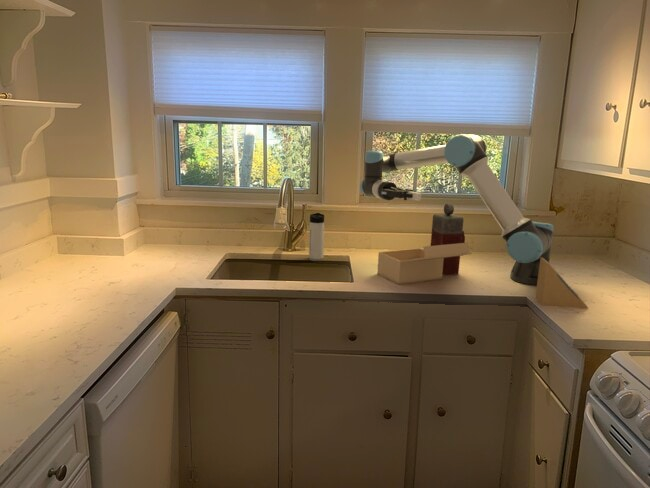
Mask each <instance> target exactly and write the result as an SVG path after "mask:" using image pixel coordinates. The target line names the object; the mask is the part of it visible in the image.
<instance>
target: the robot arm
mask: <svg viewBox="0 0 650 488" xmlns="http://www.w3.org/2000/svg"><path fill="white" fill-rule="evenodd" d="M488 161H489V157H488V155H487V144H486V142H485V140H484V139H483V138H482V137H480V135H477V134H466V133H460V134H456V135H454V136H452V137H450V138H449V140H448V141H447V142H446V144H442V145H435V146H430V147H424V148H419V149H418V148H417V149H412V150H407V151H400V152H396V153H390V154H389V153H388V154H384V152H383V151H382V150H367V151H365V156H364V177H363V179H362V181H361V182H360V184H359V190H360V192H361V194H363V195H365V196H368V197H373V198H377V199H379V200H380V201H383V200H385V201H393V200H394V199H397V198H398V199H402V198H403V201H407V200H412V201H416V202H417V201H419V202H420V201H422V193H421V192H417V191H416V190H414V189H409V188H407V187H406V188H403V187H402V188H401V187H399V186H397V185H396V183H394V182H393V181H389V180H383V173H387V172H388V173H389V172H391V173H392V172H395V171H401V170H408V169H414V168H421V167H422V168H423V167H428V166H436V165H442V164H449V165H450V166H453V167H455V168H456V170H457V171H458V173H459V175H460V176H462V177H467V179H468V180H469V182H470V184H471V185H472V186H473V188H474V189H475V191H476V193H477V194H478V195H479V197H480V199H481V200H482V201H483V203H484V204H485V206H486V207H487V209H488V210H489V212H490V214H491V215H492V216H493V218H494V219H495V221H496V222H497V224H498V226H499V227H500V229H501V231H502V232H501V238H502V239H503V241H504V242H505V244H506V251H507V253H508V255H509V256H510V258H511V259H512V260H513V261H515V263H514V264H513V267H512V268H511V271H510V273H509V274H510V275H509V277H510V279H512V281H515V282H517V283H520V284H521V283H522V284H526V285H533V286H537V281H538V273H539V266H540V258H541V257H542V258H544V259H545V260H546V261H547V262H548V263H549V264H550V260H551V259H550V258H551V251H552V244H553V237H554V234H555V232H554V231H555V230H554V228H555V227H554V225H553V224H552V223H547V222H538V221H537V222H536V221H532V220H531V218H527V217H524V216H523V214H522V213H521V212H520V210H519V209H518V207H517V205H516V204H515V203H514V201H513V199H512V198H511V196H510V195H509V194H508V192H507V191H506V189H505V188H504V186H503V184H502V183H501V182H500V180H499V179H498V177H497V176H496V174H495V173H494V172H493V170H492V168H491V167H490V166H489V164H488Z"/></svg>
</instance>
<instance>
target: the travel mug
mask: <svg viewBox="0 0 650 488" xmlns="http://www.w3.org/2000/svg"><path fill="white" fill-rule="evenodd" d="M308 237H309V238H308V239H309V241H308V244H309V245H308V259H309V260H310V261H312V262H321V261H324V247H325V246H324V245H325V244H324V243H325V242H324V241H325V240H324V239H325V215H324V214H323V213H320V212H316V213H311V214H310V215H309V236H308Z"/></svg>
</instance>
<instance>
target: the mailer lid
mask: <svg viewBox="0 0 650 488" xmlns="http://www.w3.org/2000/svg"><path fill="white" fill-rule="evenodd" d="M422 249H424V256H425V257H422V258H416V259H409V260H403V261H400V263H401V262H410V261H419V260H429V259H438V258H447V257H454V256H460V257H461V255H463V256H468V255H472V252H470V248H469V243H468V242H465V243H458V244H447V245H436V246H431V245H430V246H429V245H427V246H423V247H422Z"/></svg>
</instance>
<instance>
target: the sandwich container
mask: <svg viewBox="0 0 650 488" xmlns="http://www.w3.org/2000/svg"><path fill="white" fill-rule="evenodd" d="M535 299H536V300H537V301H538V303H539V304H540V305H541V306H544V307H545V306H547V307H556V306H557V307H559V308H570V307H576V308H575V309H585V308H589V307H588V305H587V304H586V303H585V302H584V301H583V300H582V298H581V297H580V296H579V294H577V293H576V292H575V290H573V288H572V287H571V286H570V285H569V284H568V283H567V282H566V281H565V279H564V278H563V277H562V276H561V275H560V274H559V272H557V270H556V269H555V268H554V267H553V266H552V265H551V264H550V262H549V263H548V262H547V261H546V260H545V259H544V258H542V257H541V258H540V266H539V273H538V281H537V285H536V290H535ZM577 307H578V308H577Z"/></svg>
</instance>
